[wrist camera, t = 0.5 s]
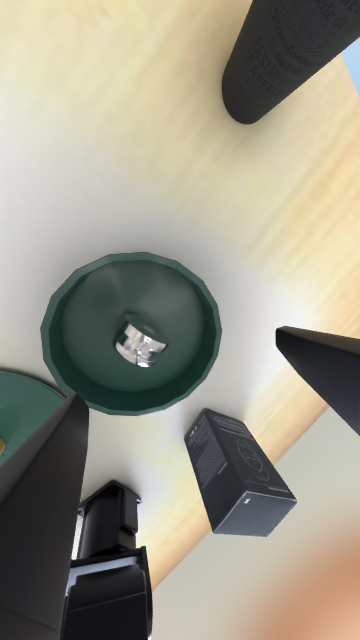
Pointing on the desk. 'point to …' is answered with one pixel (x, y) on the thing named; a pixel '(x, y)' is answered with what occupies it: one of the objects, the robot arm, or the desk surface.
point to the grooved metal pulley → (139, 341)
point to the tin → (104, 320)
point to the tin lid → (22, 409)
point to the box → (236, 477)
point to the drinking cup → (284, 51)
